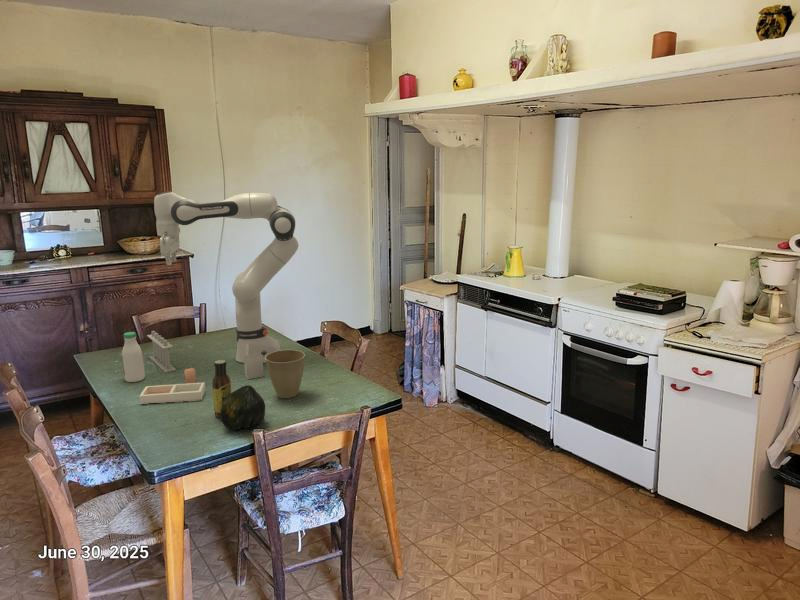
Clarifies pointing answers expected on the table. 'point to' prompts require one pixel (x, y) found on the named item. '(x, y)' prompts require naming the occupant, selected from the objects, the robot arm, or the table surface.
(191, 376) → the brown egg
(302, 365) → the plant pot
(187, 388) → the sorting tray
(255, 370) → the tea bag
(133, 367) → the milk bottle
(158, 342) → the test tube rack
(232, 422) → the squash
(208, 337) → the table surface
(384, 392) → the table surface
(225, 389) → the sauce bottle
